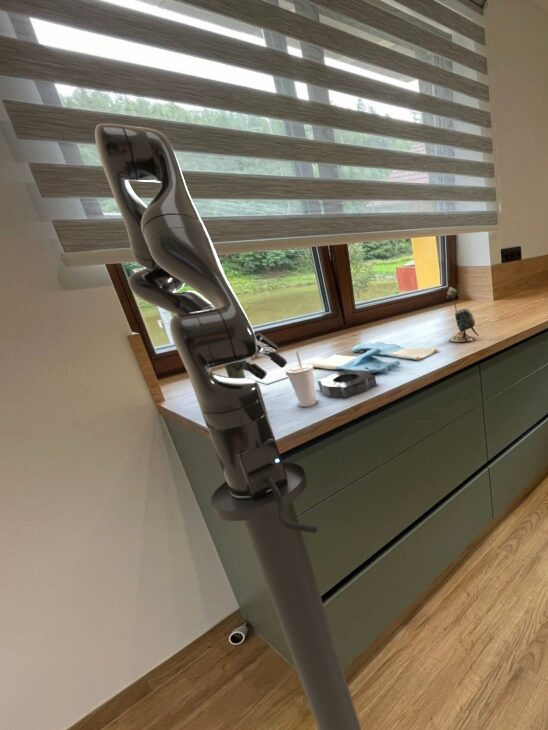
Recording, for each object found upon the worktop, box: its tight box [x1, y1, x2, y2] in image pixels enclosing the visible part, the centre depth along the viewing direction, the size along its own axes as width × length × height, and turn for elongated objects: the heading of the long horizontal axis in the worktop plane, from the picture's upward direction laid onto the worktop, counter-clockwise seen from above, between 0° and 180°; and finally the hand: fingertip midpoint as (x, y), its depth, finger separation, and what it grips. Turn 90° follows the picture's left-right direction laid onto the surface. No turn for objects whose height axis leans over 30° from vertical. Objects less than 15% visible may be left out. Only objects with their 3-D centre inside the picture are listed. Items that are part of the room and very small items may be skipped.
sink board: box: [317, 369, 378, 399], centre depth 118 cm, size 13×13×3 cm
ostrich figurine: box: [446, 286, 480, 343], centre depth 154 cm, size 8×11×20 cm
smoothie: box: [285, 350, 317, 408], centre depth 107 cm, size 6×6×14 cm
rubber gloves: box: [307, 341, 438, 374], centre depth 141 cm, size 27×33×6 cm
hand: (275, 370), depth 107 cm, fingers open, 8 cm apart
